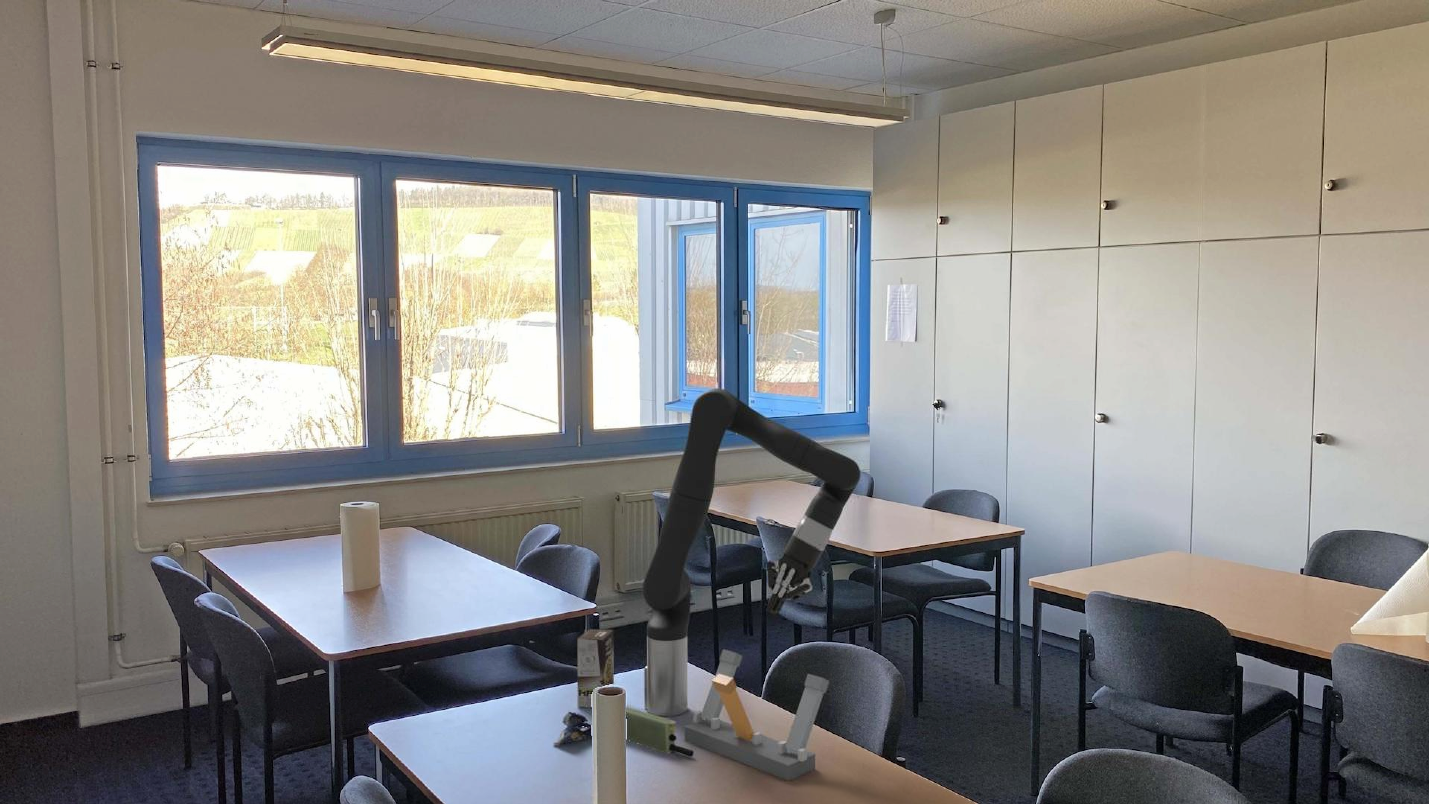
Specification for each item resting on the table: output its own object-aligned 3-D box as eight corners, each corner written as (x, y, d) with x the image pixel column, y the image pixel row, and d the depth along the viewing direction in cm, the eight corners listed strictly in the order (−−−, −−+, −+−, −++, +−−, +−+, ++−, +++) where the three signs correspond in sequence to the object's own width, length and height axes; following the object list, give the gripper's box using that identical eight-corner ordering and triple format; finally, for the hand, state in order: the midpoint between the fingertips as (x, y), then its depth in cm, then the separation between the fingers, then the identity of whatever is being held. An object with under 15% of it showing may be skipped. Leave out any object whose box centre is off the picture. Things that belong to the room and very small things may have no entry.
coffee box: (603, 709, 242) (602, 639, 241) (576, 707, 244) (576, 638, 243) (615, 696, 251) (614, 629, 250) (589, 694, 253) (588, 627, 252)
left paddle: (698, 716, 225) (723, 649, 229) (704, 719, 226) (729, 652, 231) (711, 721, 222) (736, 652, 227) (718, 724, 223) (742, 656, 228)
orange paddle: (735, 737, 216) (711, 680, 210) (742, 729, 217) (718, 673, 212) (750, 742, 213) (726, 685, 207) (756, 735, 214) (733, 678, 209)
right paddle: (783, 746, 208) (807, 673, 212) (789, 749, 209) (814, 676, 214) (798, 752, 205) (823, 678, 210) (804, 755, 206) (829, 681, 211)
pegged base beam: (682, 739, 223) (682, 716, 223) (709, 730, 229) (709, 707, 229) (790, 781, 202) (790, 756, 202) (817, 769, 208) (817, 744, 207)
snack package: (543, 734, 228) (556, 752, 217) (547, 704, 228) (561, 720, 217) (596, 736, 233) (612, 753, 222) (600, 706, 233) (616, 722, 222)
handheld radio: (610, 729, 230) (697, 757, 215) (599, 734, 228) (687, 762, 212) (609, 699, 230) (696, 725, 214) (598, 704, 227) (686, 730, 212)
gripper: (777, 524, 230) (740, 594, 230) (822, 549, 221) (783, 623, 221) (796, 532, 236) (759, 601, 235) (839, 558, 227) (802, 629, 226)
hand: (771, 612), depth 228 cm, fingers closed
